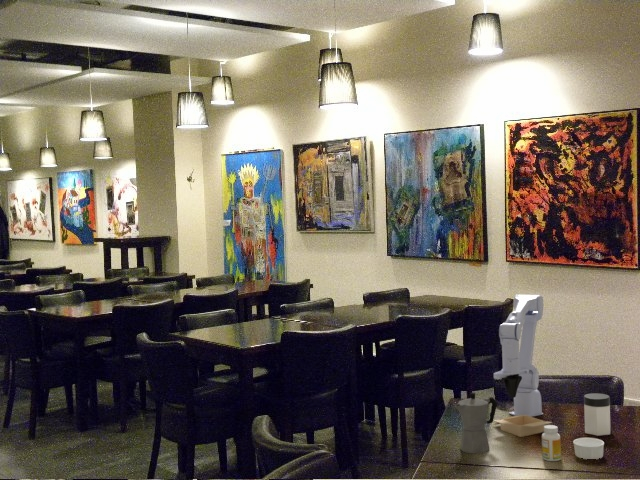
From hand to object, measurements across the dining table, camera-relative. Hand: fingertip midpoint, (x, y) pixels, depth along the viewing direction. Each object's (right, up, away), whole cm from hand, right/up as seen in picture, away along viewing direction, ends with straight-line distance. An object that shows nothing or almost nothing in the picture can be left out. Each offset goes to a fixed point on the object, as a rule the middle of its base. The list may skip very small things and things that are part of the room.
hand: (512, 396), depth 277 cm
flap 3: (+6, -6, -5) cm, 10 cm away
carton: (+2, -10, -7) cm, 12 cm away
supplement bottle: (+3, -12, -36) cm, 38 cm away
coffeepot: (-16, -12, -24) cm, 31 cm away
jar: (+26, -10, -12) cm, 30 cm away
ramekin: (+15, -11, -35) cm, 39 cm away
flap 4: (+4, -7, -11) cm, 14 cm away
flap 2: (-1, -6, -2) cm, 7 cm away
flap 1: (-3, -7, -9) cm, 12 cm away
